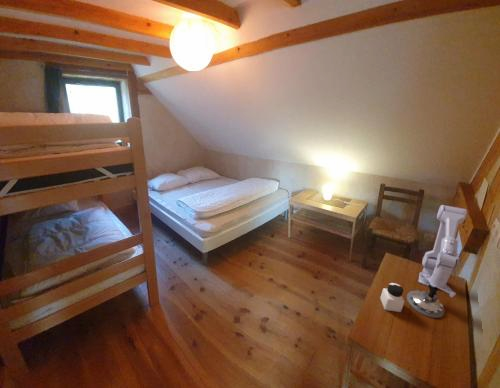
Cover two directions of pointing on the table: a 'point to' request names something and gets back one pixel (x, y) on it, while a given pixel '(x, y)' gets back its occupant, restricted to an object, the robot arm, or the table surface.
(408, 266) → the table surface
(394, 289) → the medicine bottle
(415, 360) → the table surface
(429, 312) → the sprocket base
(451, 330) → the table surface
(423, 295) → the sprocket
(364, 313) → the table surface
